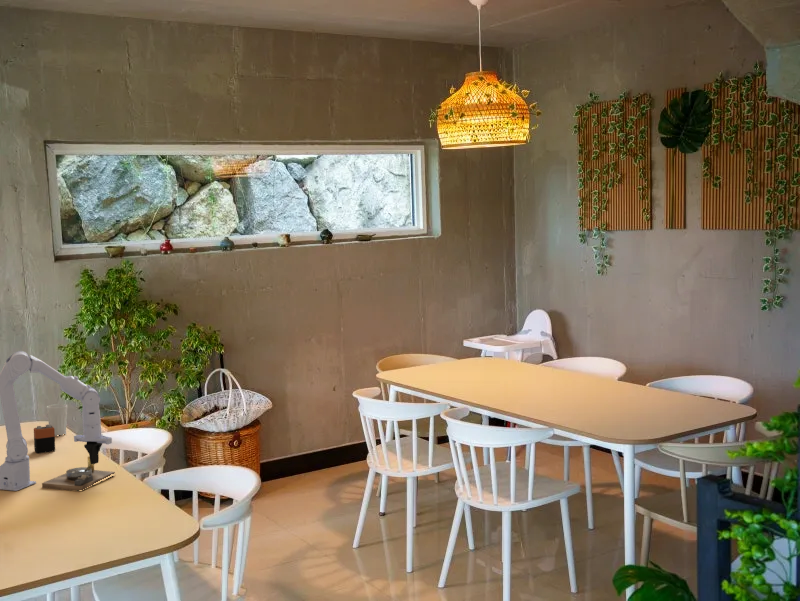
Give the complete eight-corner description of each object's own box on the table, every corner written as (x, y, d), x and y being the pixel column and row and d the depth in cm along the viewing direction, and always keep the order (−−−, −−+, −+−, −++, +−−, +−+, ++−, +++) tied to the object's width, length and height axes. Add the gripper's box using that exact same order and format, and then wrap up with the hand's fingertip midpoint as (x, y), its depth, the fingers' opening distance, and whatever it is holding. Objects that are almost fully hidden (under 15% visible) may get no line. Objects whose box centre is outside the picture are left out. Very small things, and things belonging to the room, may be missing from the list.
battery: (55, 451, 327) (54, 425, 327) (36, 453, 324) (35, 427, 323) (53, 448, 331) (52, 423, 330) (34, 451, 327) (33, 425, 326)
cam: (82, 480, 282) (81, 465, 282) (61, 478, 284) (60, 464, 284) (103, 471, 293) (102, 456, 293) (82, 469, 295) (82, 455, 295)
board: (81, 491, 276) (80, 478, 276) (42, 487, 281) (41, 474, 280) (115, 476, 294) (114, 464, 293) (77, 472, 298) (77, 460, 298)
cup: (61, 437, 349) (60, 408, 348) (43, 436, 351) (42, 407, 350) (72, 432, 357) (71, 404, 356) (55, 432, 359) (54, 403, 358)
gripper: (116, 422, 292) (119, 461, 294) (83, 420, 298) (85, 458, 299) (102, 427, 286) (105, 467, 287) (68, 424, 291) (71, 464, 292)
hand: (94, 463), depth 293 cm, fingers closed, pressing on cam
